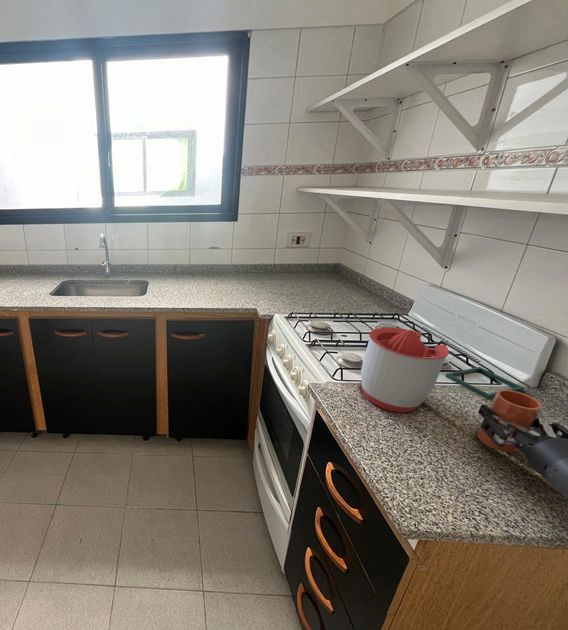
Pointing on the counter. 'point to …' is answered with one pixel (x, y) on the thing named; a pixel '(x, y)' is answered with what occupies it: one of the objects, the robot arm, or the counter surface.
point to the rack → (479, 369)
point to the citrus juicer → (399, 369)
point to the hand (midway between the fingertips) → (500, 409)
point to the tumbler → (512, 414)
